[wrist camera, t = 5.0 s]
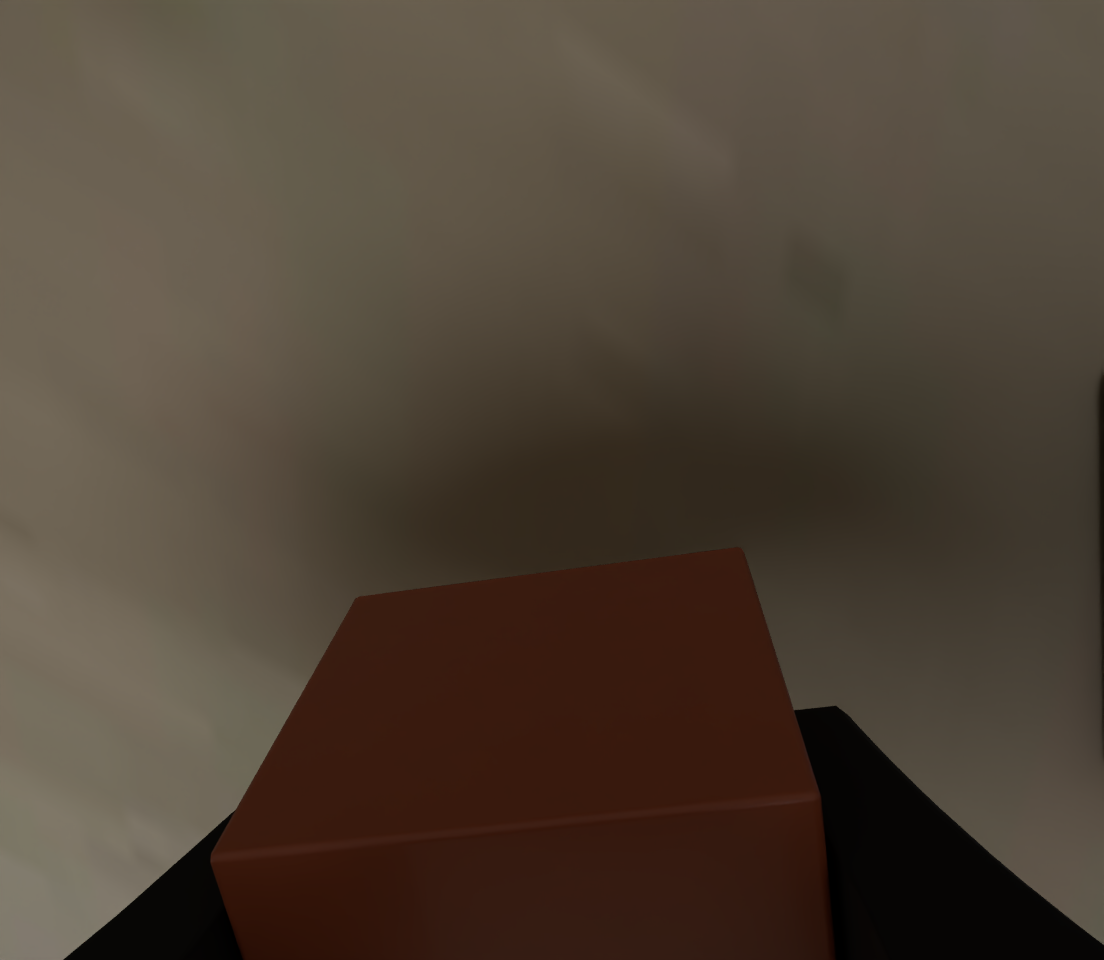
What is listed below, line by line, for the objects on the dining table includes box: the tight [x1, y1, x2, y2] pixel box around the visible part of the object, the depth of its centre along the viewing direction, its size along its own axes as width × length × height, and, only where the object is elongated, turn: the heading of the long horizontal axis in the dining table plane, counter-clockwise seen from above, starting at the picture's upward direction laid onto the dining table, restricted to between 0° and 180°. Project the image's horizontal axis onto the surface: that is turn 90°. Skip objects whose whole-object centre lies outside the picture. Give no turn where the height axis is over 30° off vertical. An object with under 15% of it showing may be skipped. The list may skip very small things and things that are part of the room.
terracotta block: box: [211, 547, 837, 960], centre depth 9 cm, size 4×4×4 cm
